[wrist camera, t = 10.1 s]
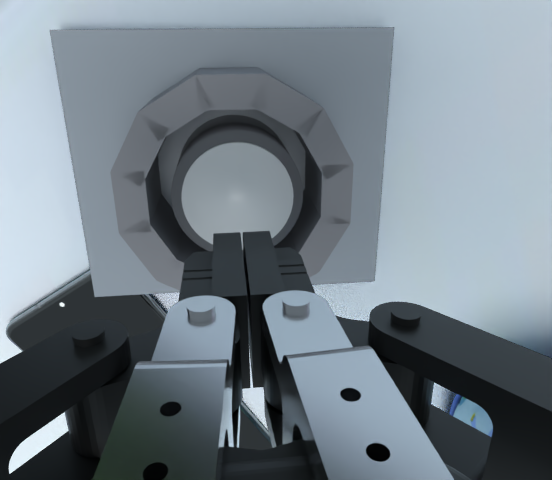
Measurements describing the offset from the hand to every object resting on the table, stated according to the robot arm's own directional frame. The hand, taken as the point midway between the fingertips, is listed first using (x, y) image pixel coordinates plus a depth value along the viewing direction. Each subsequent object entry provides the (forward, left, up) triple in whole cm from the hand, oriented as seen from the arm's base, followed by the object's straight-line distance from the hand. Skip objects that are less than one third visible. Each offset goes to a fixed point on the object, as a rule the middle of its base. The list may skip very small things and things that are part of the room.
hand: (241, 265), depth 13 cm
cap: (0, 0, -10) cm, 10 cm away
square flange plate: (0, 0, -12) cm, 12 cm away
